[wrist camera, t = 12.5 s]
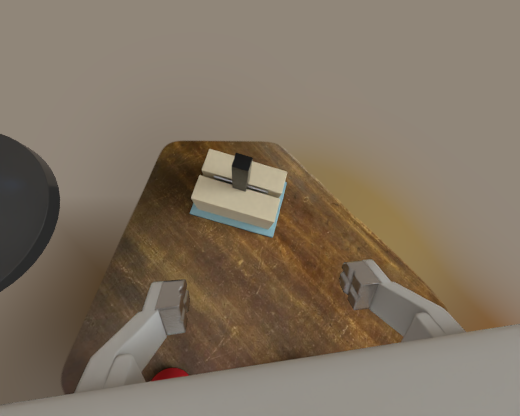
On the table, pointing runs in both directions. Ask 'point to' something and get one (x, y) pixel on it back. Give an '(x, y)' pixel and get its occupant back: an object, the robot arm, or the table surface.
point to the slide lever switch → (239, 195)
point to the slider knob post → (241, 174)
